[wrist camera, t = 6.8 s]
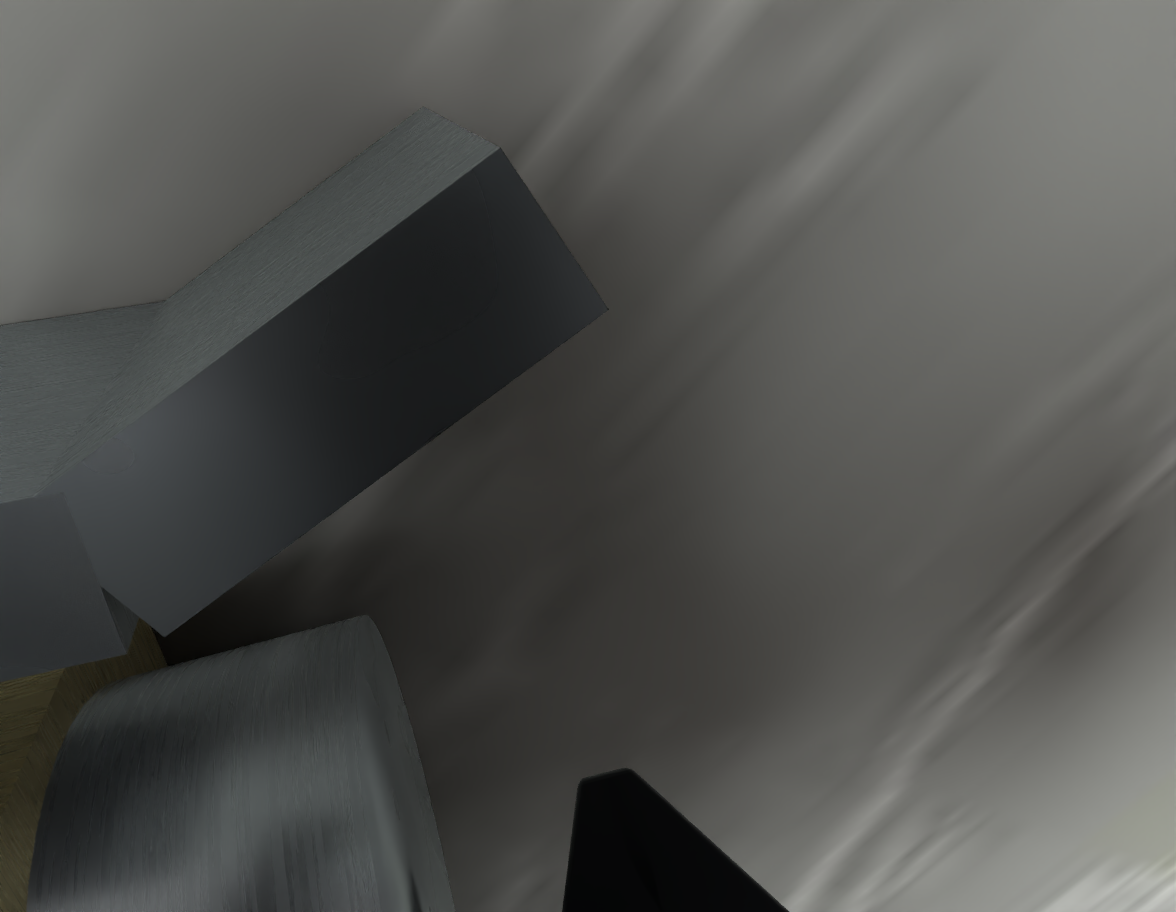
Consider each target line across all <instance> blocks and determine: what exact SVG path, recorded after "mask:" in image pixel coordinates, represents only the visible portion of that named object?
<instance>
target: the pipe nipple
mask: <svg viewBox="0 0 1176 912" xmlns="http://www.w3.org/2000/svg"><path fill="white" fill-rule="evenodd" d="M0 912H455V907H454V902H453V898H452V893H451V888H450V883H449V879H448V874H447V869H446V865H445V860H444V856H443V851H442V847H441V842H440V838H439V834H438V829H437V825H436V821H435V816H434V812H433V808H432V804H431V800H430V796H429V791H428V787H427V783H426V779H425V775H424V772H423V768H422V764H421V760H420V756H419V752H418V748H417V745H416V741H415V737H414V734H413V730H412V727H411V723H410V719H409V716H408V712H407V709H406V706H405V702H404V699H403V696H402V692H401V689H400V686H399V683H398V680H397V677H396V674H395V671H394V668H393V665H392V662H391V660H390V657H389V654H388V651H387V649H386V646H385V644H384V641H383V639H382V637H381V635H380V633H379V631H378V628H377V627H376V625H375V623H374V622H373V620H372V619H371V618H370V617H369V616H368V615H362V616H358V617H355V618H351V619H347V620H343V621H339V622H336V623H332V624H328V625H324V626H320V627H317V628H313V629H309V630H305V631H301V632H298V633H294V634H290V635H286V636H282V637H279V638H275V639H271V640H267V641H263V642H260V643H256V644H252V645H248V646H244V647H240V648H237V649H233V650H229V651H225V652H221V653H218V654H214V655H210V656H206V657H202V658H199V659H195V660H191V661H187V662H183V663H180V664H176V665H172V666H168V665H167V663H166V660H165V658H164V656H163V653H162V651H161V649H160V646H159V644H158V642H157V639H156V637H155V635H154V633H153V630H152V628H151V626H150V625H149V624H147V623H146V622H145V621H144V620H142V619H141V618H140V617H139V619H138V622H137V625H136V628H135V631H134V634H133V637H132V640H131V643H130V646H129V649H128V652H127V654H126V655H121V656H117V657H112V658H107V659H103V660H98V661H94V662H89V663H85V664H80V665H76V666H71V667H67V668H62V669H57V670H53V671H48V672H44V673H39V674H35V675H30V676H26V677H21V678H17V679H12V680H7V681H3V682H0Z"/></svg>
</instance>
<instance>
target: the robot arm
mask: <svg viewBox="0 0 1176 912" xmlns="http://www.w3.org/2000/svg"><path fill="white" fill-rule="evenodd" d="M562 912H789V911H788V910H787V909H786V908H785V907H784V906H782V905H781V904H780V903H779V902H778V901H777V900H776V899H775V898H774V897H773V896H771V895H770V894H769V893H768V892H767V891H766V890H765V889H764V888H763V887H762V886H760V885H759V884H758V883H757V882H756V881H755V880H754V879H753V878H752V877H750V876H749V875H748V874H747V873H746V872H745V871H744V870H743V869H742V868H741V867H739V866H738V865H737V864H736V863H735V862H734V861H733V860H732V859H731V858H730V857H728V856H727V855H726V854H725V853H724V852H723V851H722V850H721V849H720V848H719V847H717V846H716V845H715V844H714V843H713V842H712V841H711V840H710V839H709V838H707V837H706V836H705V835H704V834H703V833H702V832H701V831H700V830H699V829H698V828H696V827H695V826H694V825H693V824H692V823H691V822H690V821H689V820H688V819H687V818H685V817H684V816H683V815H682V814H681V813H680V812H679V811H678V810H677V809H676V808H674V807H673V806H672V805H671V804H670V803H669V802H668V801H667V800H666V799H665V798H663V797H662V796H661V795H660V794H659V793H658V792H657V791H656V790H655V789H653V788H652V787H651V786H650V785H649V784H648V783H647V782H646V781H645V780H644V779H642V778H641V777H640V776H639V775H638V774H637V773H636V772H635V771H633V770H632V769H629V768H621V769H617V770H614V771H610V772H606V773H602V774H598V775H594V776H590V777H586V778H583V779H582V780H581V781H580V782H579V784H578V788H577V796H576V804H575V812H574V820H573V828H572V837H571V845H570V853H569V861H568V869H567V877H566V885H565V893H564V901H563V909H562Z"/></svg>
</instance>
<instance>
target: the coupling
mask: <svg viewBox="0 0 1176 912" xmlns="http://www.w3.org/2000/svg"><path fill="white" fill-rule="evenodd" d="M608 310H609V309H608V308H607V306H606V305H605V303H604V302H603V300H602V299H601V297H600V296H599V294H598V293H597V291H596V290H595V288H594V287H593V285H592V284H591V282H590V281H589V279H588V278H587V276H586V275H585V273H584V272H583V270H582V269H581V267H580V266H579V264H578V263H577V261H576V260H575V258H574V257H573V255H572V254H571V252H570V251H569V249H568V248H567V246H566V245H565V243H564V242H563V240H562V239H561V237H560V236H559V234H558V233H557V231H556V230H555V228H554V227H553V225H552V224H551V222H550V221H549V219H548V218H547V216H546V215H545V213H544V212H543V210H542V209H541V207H540V206H539V204H538V203H537V201H536V200H535V198H534V197H533V196H532V194H531V193H530V191H529V190H528V188H527V187H526V185H525V184H524V182H523V181H522V179H521V178H520V176H519V175H518V173H517V172H516V170H515V169H514V167H513V166H512V164H511V163H510V161H509V160H508V158H507V157H506V155H505V154H504V152H503V151H502V149H501V148H500V147H498V146H496V145H495V144H493V143H491V142H489V141H487V140H485V139H483V138H481V137H480V136H478V135H476V134H474V133H472V132H470V131H468V130H466V129H464V128H463V127H461V126H459V125H457V124H455V123H453V122H451V121H449V120H448V119H446V118H444V117H442V116H440V115H438V114H436V113H434V112H433V111H431V110H429V109H427V108H425V107H422V108H421V109H420V110H418V111H417V112H416V113H414V114H413V115H412V116H410V117H409V118H408V119H406V120H405V121H404V122H402V123H401V124H400V125H398V126H397V127H396V128H394V129H393V130H392V131H390V132H389V133H388V134H386V135H385V136H384V137H382V138H381V139H380V140H378V141H377V142H376V143H374V144H373V145H372V146H370V147H369V148H368V149H366V150H365V151H364V152H362V153H361V154H360V155H358V156H357V157H356V158H354V159H353V160H352V161H350V162H349V163H348V164H346V165H345V166H344V167H342V168H341V169H340V170H338V171H337V172H336V173H334V174H333V175H332V176H330V177H329V178H328V179H326V180H325V181H324V182H322V183H321V184H320V185H319V186H317V187H316V188H315V189H313V190H312V191H311V192H309V193H308V194H307V195H305V196H304V197H303V198H301V199H300V200H299V201H297V202H296V203H295V204H293V205H292V206H291V207H289V208H288V209H287V210H285V211H284V212H283V213H281V214H280V215H279V216H277V217H276V218H275V219H273V220H272V221H271V222H269V223H268V224H267V225H265V226H264V227H263V228H261V229H260V230H259V231H257V232H256V233H255V234H253V235H252V236H251V237H249V238H248V239H247V240H245V241H244V242H243V243H241V244H240V245H239V246H237V247H236V248H235V249H233V250H232V251H231V252H229V253H228V254H227V255H225V256H224V257H223V258H221V259H220V260H219V261H217V262H216V263H215V264H213V265H212V266H211V267H209V268H208V269H207V270H205V271H204V272H203V273H201V274H200V275H199V276H197V277H196V278H195V279H193V280H192V281H191V282H190V283H188V284H187V285H186V286H184V287H183V288H182V289H180V290H179V291H178V292H176V293H175V294H174V295H172V296H171V297H170V298H168V299H167V300H166V301H163V302H156V303H149V304H143V305H136V306H129V307H122V308H116V309H109V310H102V311H96V312H89V313H82V314H75V315H69V316H62V317H55V318H49V319H42V320H35V321H29V322H22V323H15V324H8V325H2V326H0V682H3V681H7V680H12V679H17V678H21V677H26V676H30V675H35V674H39V673H44V672H48V671H53V670H57V669H62V668H67V667H71V666H76V665H80V664H85V663H89V662H94V661H98V660H103V659H107V658H112V657H117V656H121V655H126V654H127V652H128V649H129V646H130V643H131V640H132V637H133V634H134V631H135V628H136V625H137V622H138V619H139V617H140V618H141V619H142V620H144V621H145V622H146V623H147V624H149V625H150V626H151V627H152V628H154V629H155V630H156V631H157V632H159V633H160V634H161V635H162V636H163V637H166V636H167V635H168V634H170V633H171V632H172V631H174V630H175V629H176V628H178V627H179V626H180V625H182V624H183V623H184V622H186V621H187V620H189V619H190V618H191V617H193V616H194V615H195V614H197V613H198V612H199V611H201V610H202V609H203V608H205V607H206V606H208V605H209V604H210V603H212V602H213V601H214V600H216V599H217V598H218V597H220V596H221V595H222V594H224V593H225V592H227V591H228V590H229V589H231V588H232V587H233V586H235V585H236V584H237V583H239V582H240V581H241V580H243V579H244V578H246V577H247V576H248V575H250V574H251V573H252V572H254V571H255V570H256V569H258V568H259V567H260V566H262V565H263V564H264V563H266V562H267V561H269V560H270V559H271V558H273V557H274V556H275V555H277V554H278V553H279V552H281V551H282V550H283V549H285V548H286V547H288V546H289V545H290V544H292V543H293V542H294V541H296V540H297V539H298V538H300V537H301V536H302V535H304V534H305V533H307V532H308V531H309V530H311V529H312V528H313V527H315V526H316V525H317V524H319V523H320V522H321V521H323V520H324V519H326V518H327V517H328V516H330V515H331V514H332V513H334V512H335V511H336V510H338V509H339V508H340V507H342V506H343V505H344V504H346V503H347V502H349V501H350V500H351V499H353V498H354V497H355V496H357V495H358V494H359V493H361V492H362V491H363V490H365V489H366V488H368V487H369V486H370V485H372V484H373V483H374V482H376V481H377V480H378V479H380V478H381V477H382V476H384V475H385V474H387V473H388V472H389V471H391V470H392V469H393V468H395V467H396V466H397V465H399V464H400V463H401V462H403V461H404V460H406V459H407V458H408V457H410V456H411V455H412V454H414V453H415V452H416V451H418V450H419V449H420V448H422V447H423V446H425V445H426V444H427V443H429V442H430V441H431V440H433V439H434V438H435V437H437V436H438V435H439V434H441V433H442V432H443V431H445V430H446V429H448V428H449V427H450V426H452V425H453V424H454V423H456V422H457V421H458V420H460V419H461V418H462V417H464V416H465V415H467V414H468V413H469V412H471V411H472V410H473V409H475V408H476V407H477V406H479V405H480V404H481V403H483V402H484V401H486V400H487V399H488V398H490V397H491V396H492V395H494V394H495V393H496V392H498V391H499V390H500V389H502V388H503V387H505V386H506V385H507V384H509V383H510V382H511V381H513V380H514V379H515V378H517V377H518V376H519V375H521V374H522V373H523V372H525V371H526V370H528V369H529V368H530V367H532V366H533V365H534V364H536V363H537V362H538V361H540V360H541V359H542V358H544V357H545V356H547V355H548V354H549V353H551V352H552V351H553V350H555V349H556V348H557V347H559V346H560V345H561V344H563V343H564V342H566V341H567V340H568V339H570V338H571V337H572V336H574V335H575V334H576V333H578V332H579V331H580V330H582V329H583V328H585V327H586V326H587V325H589V324H590V323H591V322H593V321H594V320H595V319H597V318H598V317H599V316H601V315H602V314H603V313H605V312H606V311H608Z"/></svg>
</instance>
